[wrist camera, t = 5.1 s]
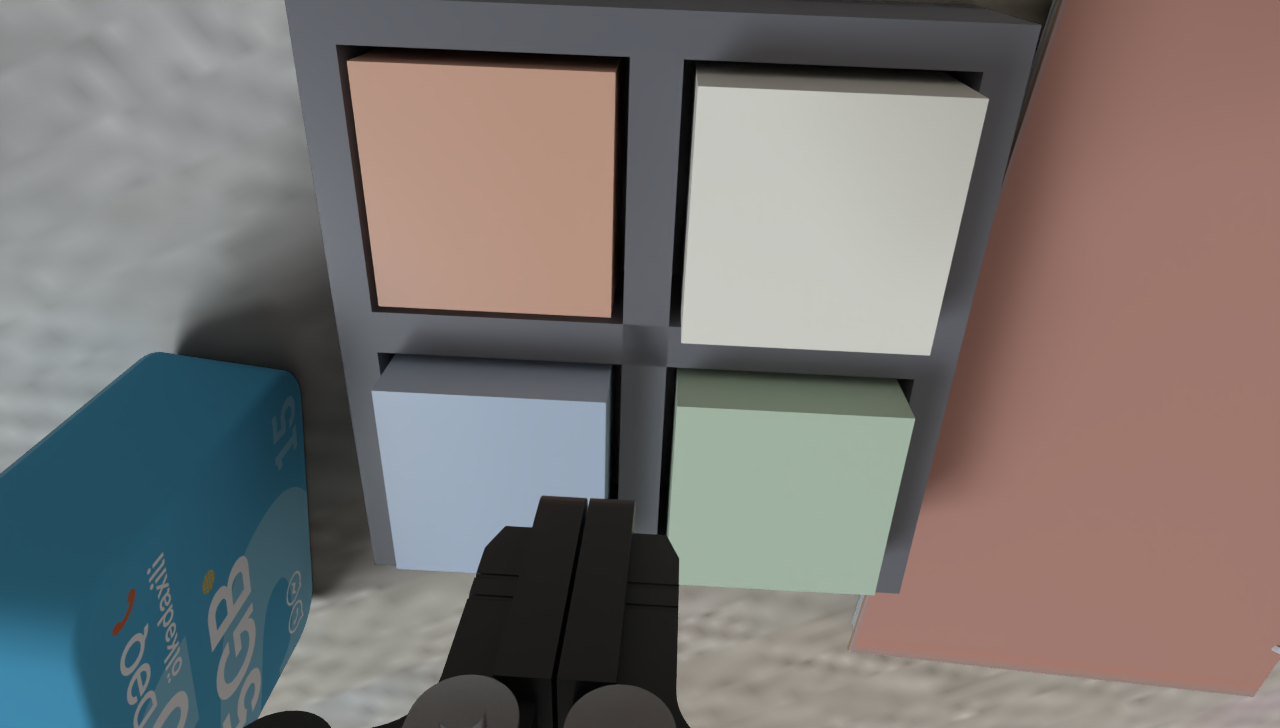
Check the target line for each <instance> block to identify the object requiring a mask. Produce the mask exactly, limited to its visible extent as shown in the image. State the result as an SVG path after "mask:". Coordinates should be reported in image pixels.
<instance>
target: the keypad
mask: <svg viewBox="0 0 1280 728" xmlns="http://www.w3.org/2000/svg"><path fill="white" fill-rule="evenodd" d="M285 6H286V12H287V18H288V24H289V31H290V37H291V43H292V49H293V56H294V62H295V68H296V74H297V81H298V87H299V93H300V100H301V106H302V112H303V118H304V125H305V131H306V137H307V143H308V150H309V156H310V162H311V169H312V175H313V181H314V187H315V194H316V200H317V206H318V212H319V219H320V225H321V231H322V237H323V244H324V250H325V256H326V263H327V269H328V275H329V281H330V288H331V294H332V300H333V306H334V313H335V319H336V325H337V331H338V338H339V344H340V350H341V357H342V363H343V369H344V375H345V382H346V388H347V394H348V400H349V407H350V413H351V419H352V426H353V432H354V438H355V444H356V451H357V457H358V463H359V469H360V476H361V482H362V488H363V494H364V501H365V507H366V513H367V520H368V526H369V532H370V538H371V545H372V551H373V557H374V563H375V565H392V566H396V559H395V553H394V546H393V539H392V532H391V525H390V518H389V511H388V504H387V497H386V490H385V483H384V476H383V469H382V462H381V455H380V448H379V441H378V434H377V427H376V420H375V413H374V406H373V399H372V392H371V391H372V389H373V387H374V386H375V384H376V383H377V381H378V380H379V378H380V377H381V375H382V374H383V372H384V371H385V369H386V367H387V366H388V364H389V363H390V361H391V360H392V358H393V357H394V355H395V354H396V353H400V354H420V355H439V356H459V357H479V358H499V359H519V360H539V361H559V362H579V363H599V364H615V385H614V430H613V475H612V499H616V500H634V501H636V515H635V533H639V534H656V535H666V532H667V499H668V484H669V468H670V452H671V436H672V420H673V404H674V388H675V372H676V367H678V368H698V369H718V370H738V371H758V372H778V373H797V374H817V375H837V376H857V377H877V378H896V379H897V381H898V383H899V385H900V387H901V389H902V391H903V393H904V396H905V398H906V400H907V402H908V404H909V406H910V408H911V410H912V413H913V415H914V417H915V422H914V427H913V431H912V435H911V440H910V444H909V448H908V453H907V457H906V461H905V466H904V470H903V474H902V479H901V483H900V487H899V492H898V496H897V500H896V504H895V509H894V513H893V517H892V522H891V526H890V530H889V535H888V539H887V543H886V548H885V552H884V556H883V561H882V565H881V569H880V574H879V578H878V582H877V587H876V591H875V592H877V593H895V594H899V593H900V589H901V585H902V581H903V577H904V573H905V569H906V565H907V561H908V557H909V553H910V549H911V545H912V541H913V537H914V533H915V529H916V525H917V521H918V517H919V513H920V509H921V505H922V501H923V497H924V493H925V489H926V485H927V481H928V477H929V473H930V469H931V465H932V461H933V457H934V453H935V449H936V445H937V441H938V437H939V433H940V429H941V425H942V421H943V417H944V413H945V409H946V405H947V401H948V397H949V393H950V389H951V385H952V381H953V377H954V373H955V369H956V365H957V361H958V357H959V353H960V349H961V345H962V341H963V337H964V333H965V329H966V325H967V321H968V317H969V313H970V309H971V305H972V301H973V297H974V293H975V289H976V285H977V281H978V277H979V273H980V269H981V265H982V261H983V257H984V253H985V250H986V246H987V242H988V238H989V234H990V230H991V226H992V222H993V218H994V214H995V210H996V206H997V202H998V198H999V194H1000V190H1001V186H1002V182H1003V178H1004V174H1005V170H1006V166H1007V162H1008V158H1009V154H1010V150H1011V146H1012V142H1013V138H1014V134H1015V130H1016V126H1017V122H1018V118H1019V114H1020V110H1021V106H1022V102H1023V98H1024V94H1025V90H1026V86H1027V82H1028V78H1029V74H1030V70H1031V66H1032V62H1033V58H1034V54H1035V50H1036V46H1037V42H1038V38H1039V34H1040V30H1041V26H1042V25H1040V24H1036V23H1033V22H1030V21H1026V20H1023V19H1020V18H1016V17H1013V16H1010V15H1006V14H1003V13H1000V12H996V11H993V10H990V9H986V8H983V7H980V6H976V5H959V4H935V3H910V2H886V1H861V0H285ZM380 46H382V47H406V48H430V49H453V50H477V51H500V52H524V53H547V54H571V55H594V56H618V57H625V60H624V102H623V144H622V186H621V228H620V267H619V273H618V279H617V285H616V290H615V296H614V302H613V308H612V314H611V318H609V317H588V316H568V315H548V314H527V313H507V312H487V311H466V310H446V309H425V308H405V307H385V306H379V305H378V297H377V290H376V282H375V274H374V267H373V259H372V251H371V244H370V236H369V228H368V221H367V213H366V205H365V198H364V190H363V182H362V175H361V167H360V159H359V152H358V144H357V136H356V129H355V121H354V113H353V106H352V98H351V90H350V83H349V75H348V67H347V61H348V60H350V59H352V58H355V57H357V56H359V55H362V54H364V53H366V52H369V51H371V50H373V49H375V48H378V47H380ZM695 60H701V61H724V62H748V63H771V64H795V65H818V66H842V67H865V68H889V69H912V70H936V71H943V72H945V73H946V74H948V75H950V76H951V77H953V78H955V79H956V80H958V81H960V82H962V83H963V84H965V85H967V86H968V87H970V88H972V89H973V90H975V91H977V92H979V93H980V94H982V95H984V96H985V97H987V98H989V102H988V106H987V110H986V115H985V119H984V123H983V128H982V132H981V136H980V141H979V145H978V149H977V154H976V158H975V162H974V167H973V171H972V175H971V180H970V184H969V188H968V193H967V197H966V201H965V206H964V210H963V214H962V219H961V223H960V227H959V232H958V236H957V240H956V245H955V249H954V253H953V258H952V262H951V266H950V271H949V275H948V279H947V284H946V288H945V292H944V297H943V301H942V305H941V310H940V314H939V318H938V323H937V327H936V331H935V336H934V340H933V344H932V349H931V353H930V356H928V355H908V354H888V353H868V352H848V351H828V350H808V349H787V348H767V347H747V346H727V345H707V344H687V343H681V277H682V261H683V245H684V229H685V213H686V197H687V181H688V165H689V150H690V134H691V118H692V102H693V86H694V70H695Z"/></svg>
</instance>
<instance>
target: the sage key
mask: <svg viewBox="0 0 1280 728" xmlns="http://www.w3.org/2000/svg"><path fill="white" fill-rule="evenodd" d="M914 422H915V417H914V415H913V413H912V410H911V408H910V406H909V404H908V402H907V400H906V398H905V396H904V393H903V391H902V389H901V387H900V385H899V383H898V381H897V379H896V378H877V377H857V376H837V375H817V374H797V373H778V372H758V371H738V370H718V369H698V368H678V367H676V372H675V388H674V404H673V420H672V436H671V452H670V468H669V484H668V499H667V532H666V535H667V537H668V539H669V541H670V542H671V544H672V546H673V548H674V550H675V552H676V553H677V555H678V557H679V585H697V586H714V587H732V588H750V589H768V590H786V591H804V592H822V593H840V594H858V595H875V591H876V587H877V582H878V578H879V574H880V569H881V565H882V561H883V556H884V552H885V548H886V543H887V539H888V535H889V530H890V526H891V522H892V517H893V513H894V509H895V504H896V500H897V496H898V492H899V487H900V483H901V479H902V474H903V470H904V466H905V461H906V457H907V453H908V448H909V444H910V440H911V435H912V431H913V427H914Z"/></svg>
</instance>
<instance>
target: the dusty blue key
mask: <svg viewBox="0 0 1280 728" xmlns="http://www.w3.org/2000/svg"><path fill="white" fill-rule="evenodd" d="M614 385H615V364H599V363H579V362H559V361H539V360H519V359H499V358H479V357H459V356H439V355H420V354H400V353H396V354H395V355H394V357H393V358H392V360H391V361H390V363H389V364H388V366H387V367H386V369H385V371H384V372H383V374H382V375H381V377H380V378H379V380H378V381H377V383H376V384H375V386H374V387H373V389H372V391H371V392H372V399H373V406H374V413H375V420H376V427H377V434H378V441H379V448H380V455H381V462H382V469H383V476H384V483H385V490H386V497H387V504H388V511H389V518H390V525H391V532H392V539H393V546H394V553H395V559H396V566H397V569H410V570H428V571H446V572H464V573H476V572H477V569H478V566H479V563H480V560H481V557H482V554H483V552H484V549H485V547H486V546H487V545H488V544H489V543H490V541H491V540H492V539H493V538H494V537H495V536H496V535H497V534H498V533H499V532H500V531H501V530H502V529H503V528H504V527H505V526H517V527H532V526H533V522H534V518H535V515H536V511H537V507H538V504H539V500H540V498H541V496H542V495H543V496H561V497H578V498H587V500H588V505H589V501H590V498H599V499H612V475H613V430H614Z"/></svg>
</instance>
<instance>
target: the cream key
mask: <svg viewBox="0 0 1280 728" xmlns="http://www.w3.org/2000/svg"><path fill="white" fill-rule="evenodd" d="M988 102H989V98H987V97H985V96H984V95H982V94H980V93H979V92H977V91H975V90H973V89H972V88H970V87H968V86H967V85H965V84H963V83H962V82H960V81H958V80H956V79H955V78H953V77H951V76H950V75H948V74H946V73H945V72H943V71H936V70H912V69H889V68H865V67H842V66H818V65H795V64H771V63H748V62H724V61H701V60H695V70H694V86H693V102H692V118H691V134H690V150H689V165H688V181H687V197H686V213H685V229H684V245H683V261H682V277H681V343H687V344H707V345H727V346H747V347H767V348H787V349H808V350H828V351H848V352H868V353H888V354H908V355H928V356H930V353H931V349H932V344H933V340H934V336H935V331H936V327H937V323H938V318H939V314H940V310H941V305H942V301H943V297H944V292H945V288H946V284H947V279H948V275H949V271H950V266H951V262H952V258H953V253H954V249H955V245H956V240H957V236H958V232H959V227H960V223H961V219H962V214H963V210H964V206H965V201H966V197H967V193H968V188H969V184H970V180H971V175H972V171H973V167H974V162H975V158H976V154H977V149H978V145H979V141H980V136H981V132H982V128H983V123H984V119H985V115H986V110H987V106H988Z"/></svg>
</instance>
